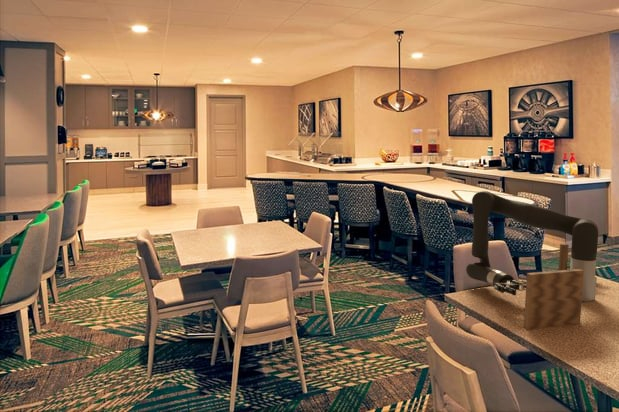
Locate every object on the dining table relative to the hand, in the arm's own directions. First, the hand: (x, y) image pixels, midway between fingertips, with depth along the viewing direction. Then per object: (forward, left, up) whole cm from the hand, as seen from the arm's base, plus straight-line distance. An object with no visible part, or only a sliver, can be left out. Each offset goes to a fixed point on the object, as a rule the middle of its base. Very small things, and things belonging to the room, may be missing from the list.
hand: (525, 292), depth 194 cm
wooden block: (-44, -27, -8) cm, 52 cm away
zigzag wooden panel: (0, +13, -7) cm, 15 cm away
